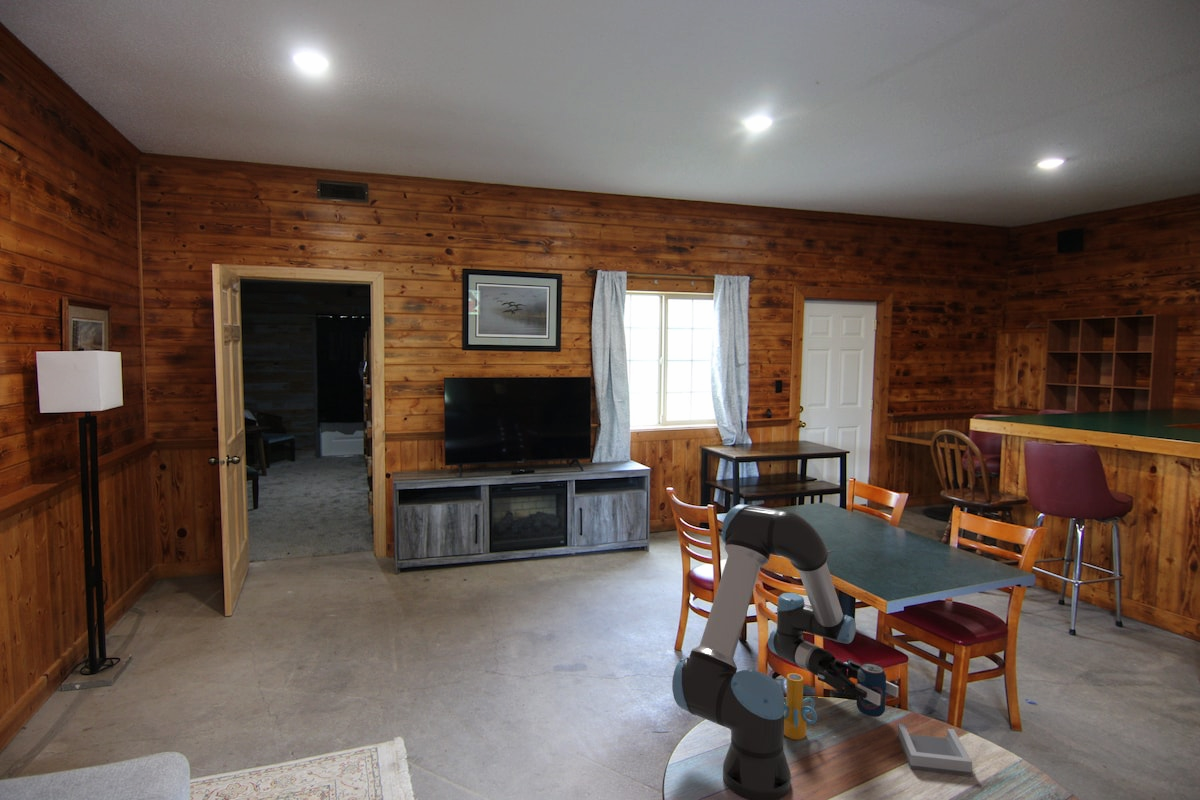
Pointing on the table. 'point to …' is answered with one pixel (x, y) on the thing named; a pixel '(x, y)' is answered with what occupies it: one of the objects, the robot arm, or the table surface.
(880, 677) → the soda can
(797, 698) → the yellow hollow tube
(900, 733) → the dock
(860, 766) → the table surface
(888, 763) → the table surface
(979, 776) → the table surface
